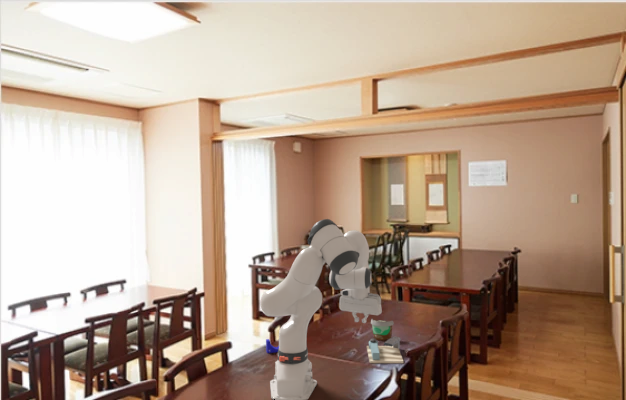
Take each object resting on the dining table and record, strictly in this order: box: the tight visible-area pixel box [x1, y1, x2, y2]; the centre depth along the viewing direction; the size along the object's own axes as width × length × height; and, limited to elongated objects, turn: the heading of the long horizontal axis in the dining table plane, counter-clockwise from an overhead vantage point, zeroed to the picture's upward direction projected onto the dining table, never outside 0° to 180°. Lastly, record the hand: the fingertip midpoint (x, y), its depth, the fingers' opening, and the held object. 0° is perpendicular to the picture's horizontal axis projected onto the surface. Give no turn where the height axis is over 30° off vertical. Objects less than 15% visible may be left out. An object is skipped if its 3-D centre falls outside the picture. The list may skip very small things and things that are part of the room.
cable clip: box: [265, 338, 279, 354], centre depth 216 cm, size 12×4×6 cm, turn 106°
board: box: [366, 337, 404, 364], centre depth 206 cm, size 20×15×5 cm
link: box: [368, 340, 380, 360], centre depth 207 cm, size 18×4×3 cm, turn 177°
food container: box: [370, 318, 395, 342], centre depth 229 cm, size 12×6×10 cm, turn 62°
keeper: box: [383, 336, 401, 350], centre depth 210 cm, size 4×11×6 cm, turn 147°
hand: (360, 322), depth 202 cm, fingers open, 2 cm apart
